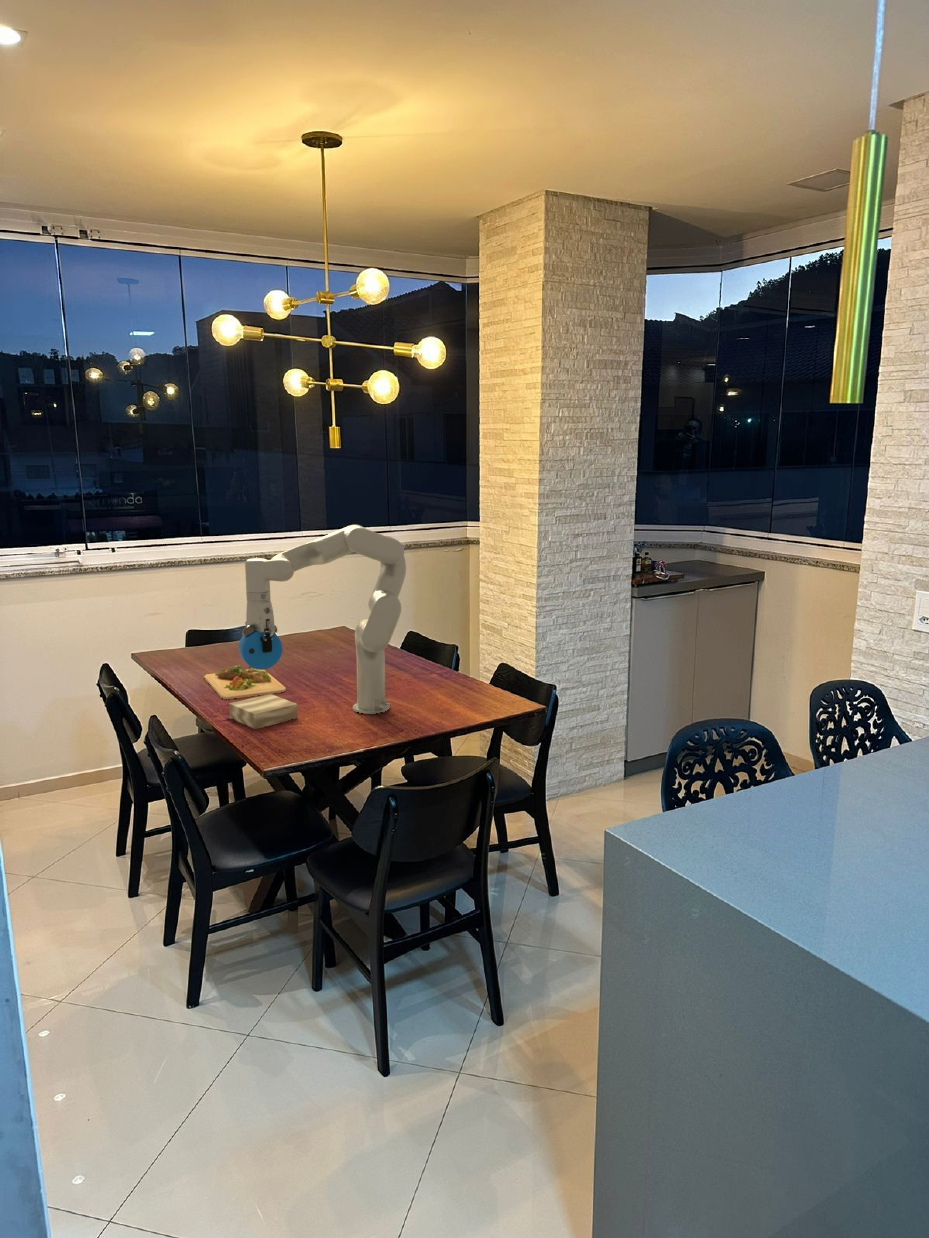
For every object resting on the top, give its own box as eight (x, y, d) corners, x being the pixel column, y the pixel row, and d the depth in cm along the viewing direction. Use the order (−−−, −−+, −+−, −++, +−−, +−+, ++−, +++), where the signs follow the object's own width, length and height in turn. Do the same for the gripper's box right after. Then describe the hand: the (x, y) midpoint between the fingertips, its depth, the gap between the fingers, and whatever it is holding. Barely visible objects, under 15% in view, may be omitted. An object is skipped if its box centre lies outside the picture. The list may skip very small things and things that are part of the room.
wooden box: (297, 718, 283) (297, 703, 282) (255, 729, 272) (254, 714, 271) (271, 707, 295) (270, 693, 294) (229, 717, 284) (228, 703, 283)
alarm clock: (278, 664, 286) (276, 620, 283) (283, 668, 281) (282, 623, 278) (239, 668, 280) (237, 623, 277) (244, 673, 274) (241, 627, 271)
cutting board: (287, 693, 314) (286, 673, 313) (223, 702, 303) (222, 681, 302) (262, 671, 344) (261, 653, 343) (203, 678, 334) (201, 660, 332)
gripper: (283, 598, 272) (285, 652, 275) (254, 592, 284) (256, 643, 288) (262, 601, 267) (265, 656, 270) (234, 594, 279) (236, 647, 282)
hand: (260, 649), depth 279 cm, fingers closed on alarm clock, 7 cm apart
